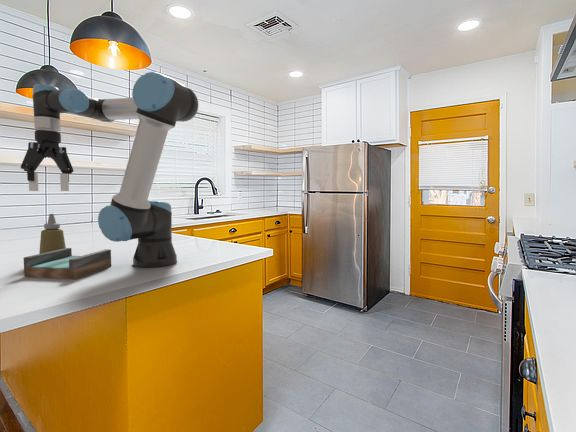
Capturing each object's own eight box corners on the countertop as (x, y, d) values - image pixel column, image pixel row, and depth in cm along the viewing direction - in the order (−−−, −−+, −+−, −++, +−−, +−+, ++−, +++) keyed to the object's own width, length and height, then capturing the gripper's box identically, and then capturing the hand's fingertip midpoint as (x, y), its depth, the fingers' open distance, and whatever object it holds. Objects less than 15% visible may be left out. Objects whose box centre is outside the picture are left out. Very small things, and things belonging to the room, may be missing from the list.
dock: (111, 266, 116) (110, 249, 116) (75, 279, 99) (74, 259, 99) (66, 264, 118) (66, 247, 117) (24, 276, 101) (23, 257, 100)
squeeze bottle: (52, 265, 115) (50, 215, 114) (33, 264, 117) (31, 214, 115) (72, 261, 123) (70, 213, 122) (54, 259, 125) (52, 212, 123)
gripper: (65, 136, 129) (67, 190, 130) (4, 123, 104) (7, 190, 106) (82, 136, 128) (84, 191, 130) (26, 123, 103) (29, 191, 105)
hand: (50, 191), depth 118 cm, fingers open, 13 cm apart
